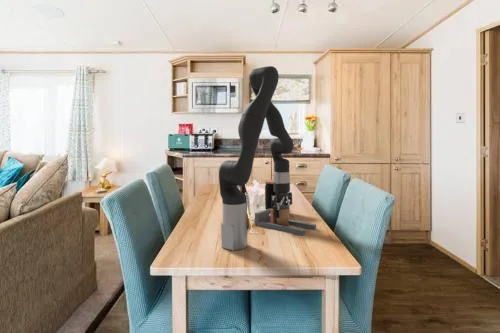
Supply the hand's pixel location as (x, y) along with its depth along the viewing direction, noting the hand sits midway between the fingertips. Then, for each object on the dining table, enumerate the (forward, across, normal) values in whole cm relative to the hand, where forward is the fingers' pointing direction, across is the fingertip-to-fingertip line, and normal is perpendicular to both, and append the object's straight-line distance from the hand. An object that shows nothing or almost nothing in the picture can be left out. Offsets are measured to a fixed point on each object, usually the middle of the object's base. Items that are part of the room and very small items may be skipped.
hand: (281, 216), depth 149 cm
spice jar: (+5, 0, 0) cm, 5 cm away
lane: (+5, 0, +2) cm, 5 cm away
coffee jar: (+5, -19, -18) cm, 26 cm away
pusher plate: (+5, 0, -5) cm, 7 cm away
